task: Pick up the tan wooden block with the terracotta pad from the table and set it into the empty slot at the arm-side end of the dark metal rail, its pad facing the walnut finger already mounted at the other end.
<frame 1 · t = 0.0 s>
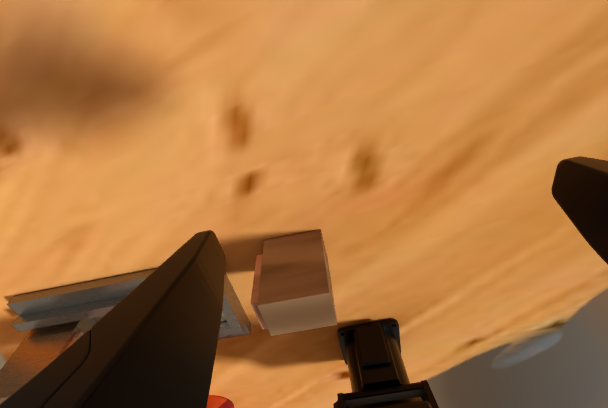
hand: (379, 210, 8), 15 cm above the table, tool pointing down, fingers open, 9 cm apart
paper cup: (213, 404, 43), on the table
rail: (139, 311, 32), on the table
tan wooden block: (296, 249, 28), on the table
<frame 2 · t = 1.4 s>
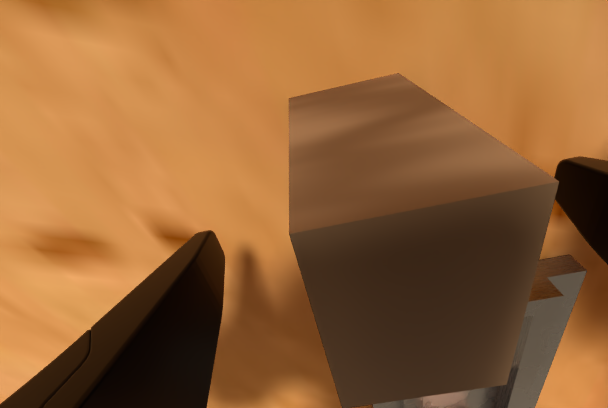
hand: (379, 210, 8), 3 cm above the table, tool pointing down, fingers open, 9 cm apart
rail: (449, 384, 20), on the table
tan wooden block: (352, 156, 11), on the table
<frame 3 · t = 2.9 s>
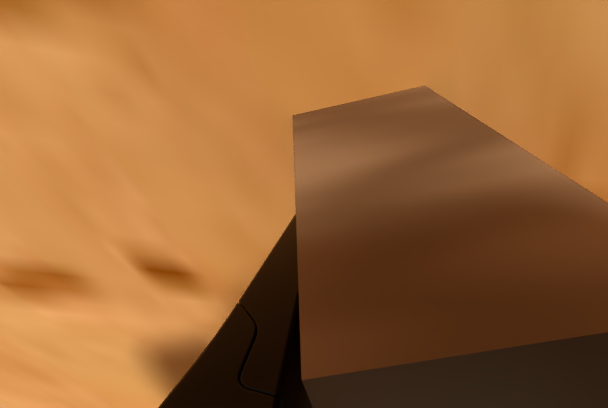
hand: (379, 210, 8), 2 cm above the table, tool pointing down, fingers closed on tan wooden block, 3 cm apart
tan wooden block: (367, 182, 10), on the table, touching gripper
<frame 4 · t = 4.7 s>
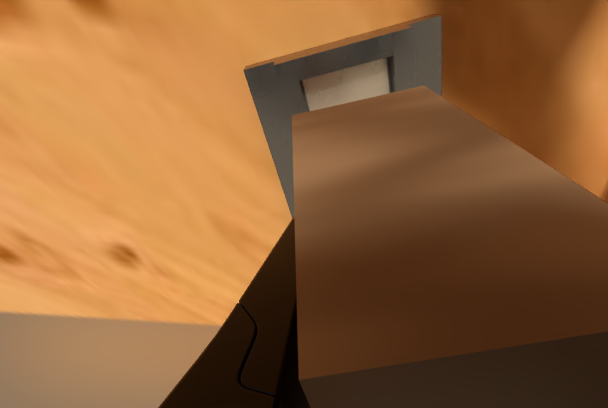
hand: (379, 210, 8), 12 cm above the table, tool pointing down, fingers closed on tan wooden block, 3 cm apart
rail: (363, 197, 22), on the table
tan wooden block: (366, 182, 10), point 10 cm above the table, touching gripper
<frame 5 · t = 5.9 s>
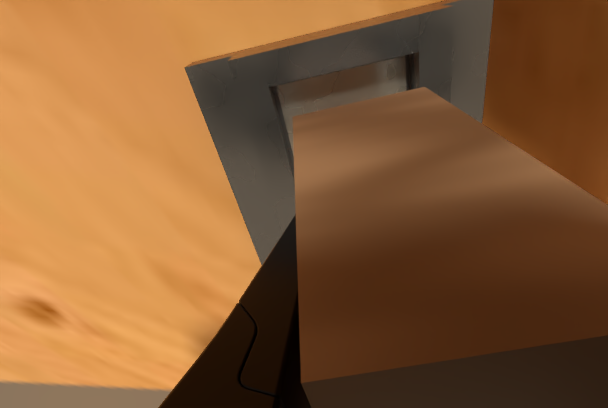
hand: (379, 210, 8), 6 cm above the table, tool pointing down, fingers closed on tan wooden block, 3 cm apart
rail: (362, 245, 16), on the table
tan wooden block: (367, 183, 10), point 4 cm above the table, touching gripper
when the fingers open (4 cm above the table, at t = 6.9 s): tan wooden block drops 1 cm, resting on rail.
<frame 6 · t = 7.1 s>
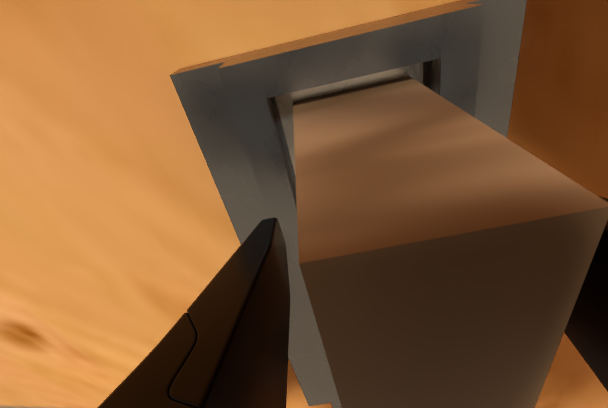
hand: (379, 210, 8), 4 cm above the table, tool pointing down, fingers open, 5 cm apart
rail: (369, 266, 15), on the table
tan wooden block: (359, 163, 11), point 1 cm above the table, touching rail
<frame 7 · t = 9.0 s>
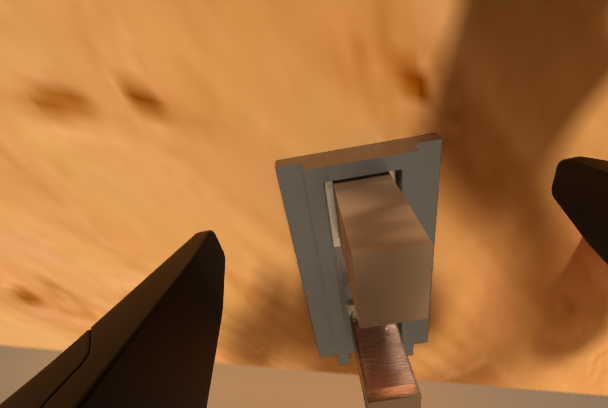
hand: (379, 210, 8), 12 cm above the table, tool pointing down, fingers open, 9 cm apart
rail: (364, 264, 25), on the table
tan wooden block: (362, 209, 21), point 1 cm above the table, touching rail
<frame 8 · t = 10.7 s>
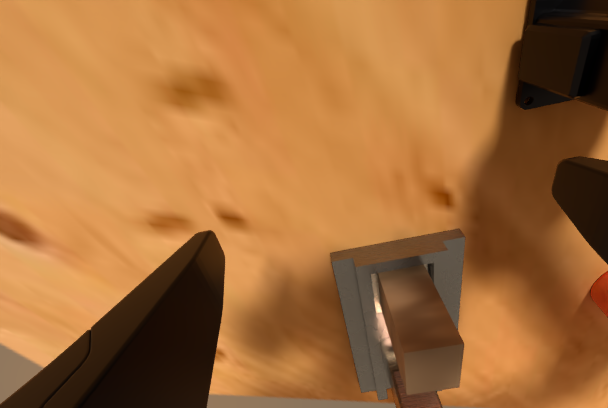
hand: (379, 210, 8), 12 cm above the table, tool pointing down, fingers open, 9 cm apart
rail: (399, 320, 30), on the table
tan wooden block: (400, 286, 26), point 1 cm above the table, touching rail
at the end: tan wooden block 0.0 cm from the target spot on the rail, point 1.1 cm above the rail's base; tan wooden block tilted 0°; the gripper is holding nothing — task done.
